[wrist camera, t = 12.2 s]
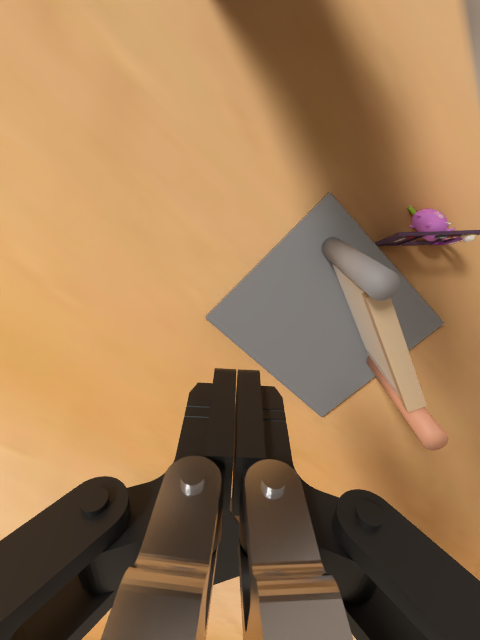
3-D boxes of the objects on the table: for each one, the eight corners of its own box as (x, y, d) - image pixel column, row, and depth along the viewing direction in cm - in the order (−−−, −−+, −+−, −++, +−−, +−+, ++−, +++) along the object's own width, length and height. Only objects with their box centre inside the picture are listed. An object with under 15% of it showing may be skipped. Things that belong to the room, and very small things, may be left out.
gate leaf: (330, 264, 42) (366, 298, 30) (345, 257, 41) (387, 288, 30) (365, 354, 47) (408, 412, 35) (379, 348, 46) (427, 405, 35)
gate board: (206, 315, 46) (189, 386, 30) (328, 192, 40) (386, 201, 24) (320, 413, 52) (354, 512, 37) (440, 320, 46) (543, 392, 31)
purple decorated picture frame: (398, 243, 36) (483, 240, 36) (398, 193, 35) (483, 190, 35) (373, 252, 42) (444, 250, 42) (373, 210, 42) (445, 208, 42)
